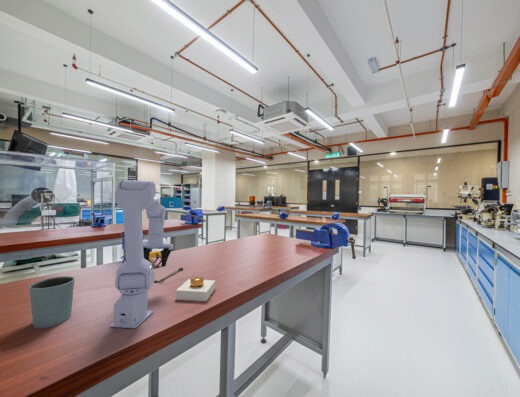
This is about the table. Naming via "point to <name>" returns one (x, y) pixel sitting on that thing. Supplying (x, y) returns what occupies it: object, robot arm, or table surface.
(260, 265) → the table surface
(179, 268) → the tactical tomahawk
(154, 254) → the robot dog
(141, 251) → the robot arm
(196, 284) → the brass door knob
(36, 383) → the table surface
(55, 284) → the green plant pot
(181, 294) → the pin block
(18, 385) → the table surface
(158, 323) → the table surface
